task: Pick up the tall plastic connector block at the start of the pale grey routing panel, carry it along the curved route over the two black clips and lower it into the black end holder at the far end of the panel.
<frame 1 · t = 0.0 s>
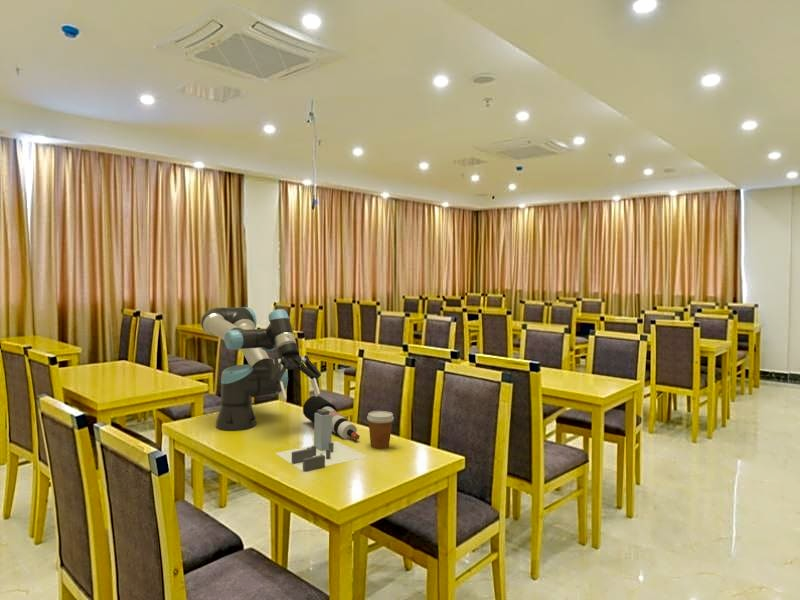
hand: (301, 397, 199), 15 cm above the table, tool tilted 35°, fingers open, 13 cm apart
disposable coffee cup: (379, 447, 192), on the table
cable: (333, 432, 210), on the table
connector: (322, 447, 188), resting on routing panel
routing panel: (320, 456, 181), on the table
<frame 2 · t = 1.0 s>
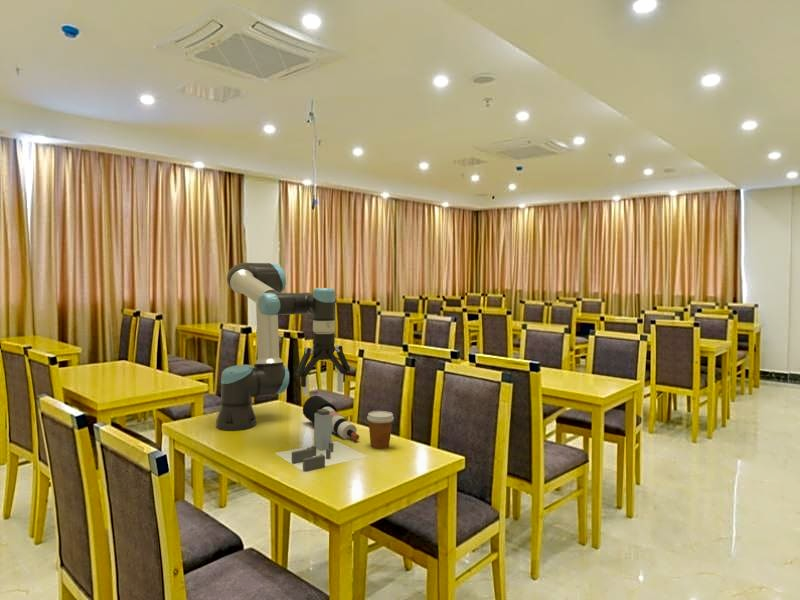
hand: (323, 394, 188), 19 cm above the table, tool pointing down, fingers open, 13 cm apart
nothing on the table moved.
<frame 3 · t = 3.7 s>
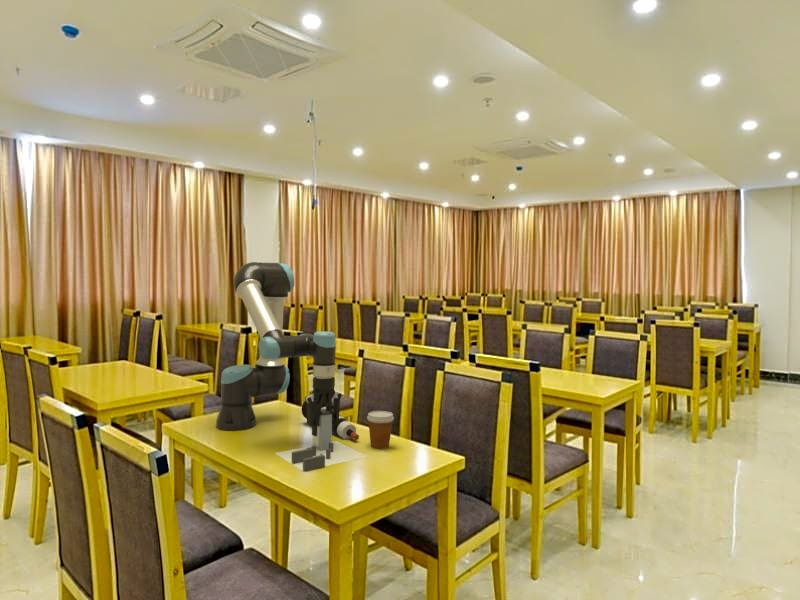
hand: (322, 443, 188), 2 cm above the table, tool pointing down, fingers closed on connector, 4 cm apart
connector: (322, 447, 188), point 1 cm above the table, touching gripper, routing panel
everything else where it was.
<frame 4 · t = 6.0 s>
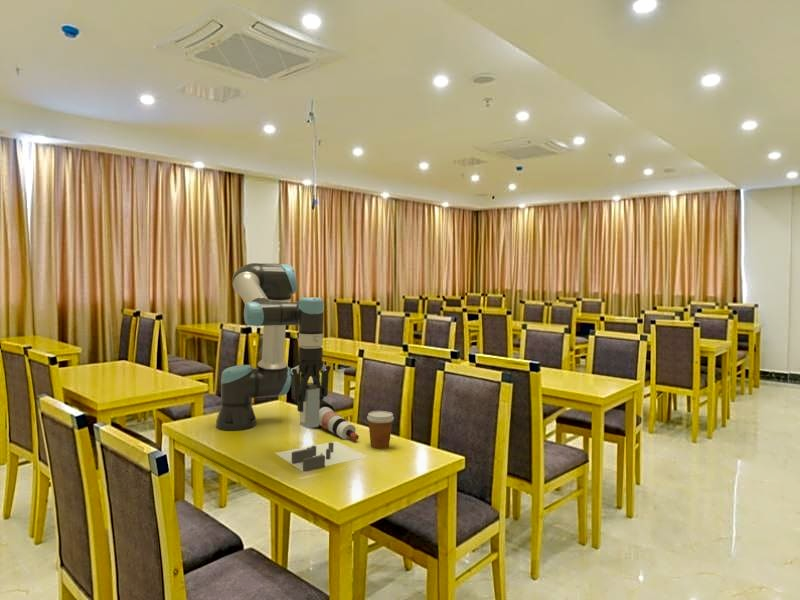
hand: (309, 420, 171), 15 cm above the table, tool pointing down, fingers closed on connector, 4 cm apart
connector: (309, 425, 171), point 13 cm above the table, touching gripper
everything else where it was.
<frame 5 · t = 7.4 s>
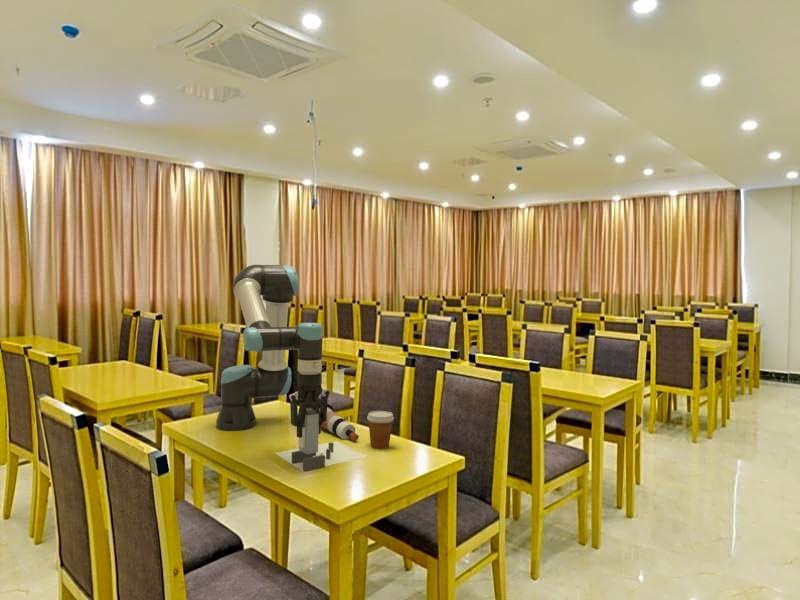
hand: (308, 445, 171), 7 cm above the table, tool pointing down, fingers closed on connector, 4 cm apart
connector: (308, 450, 171), point 5 cm above the table, touching gripper
everything else where it was.
when the fingers open (3 cm above the table, at t = 8.7 s): connector drops 1 cm, resting on routing panel.
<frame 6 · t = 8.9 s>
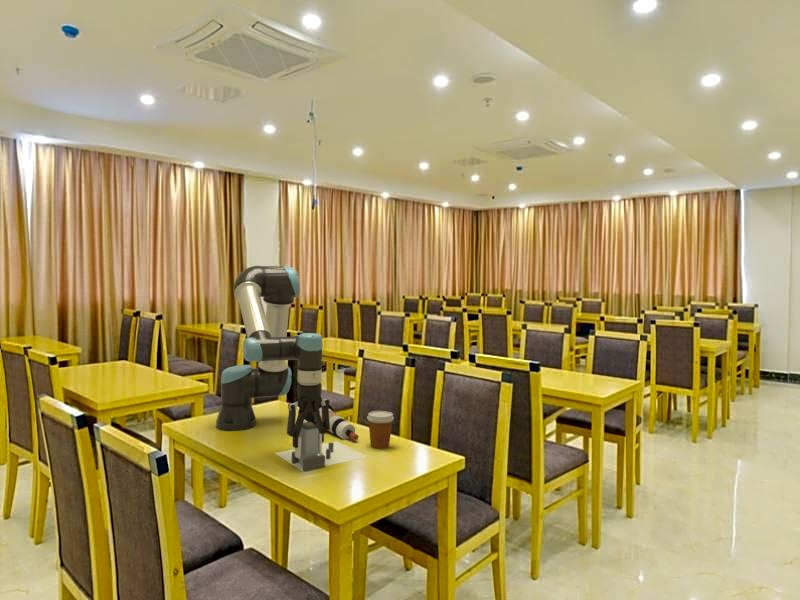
hand: (308, 454, 171), 4 cm above the table, tool pointing down, fingers open, 7 cm apart
connector: (308, 464, 172), point 1 cm above the table, touching routing panel
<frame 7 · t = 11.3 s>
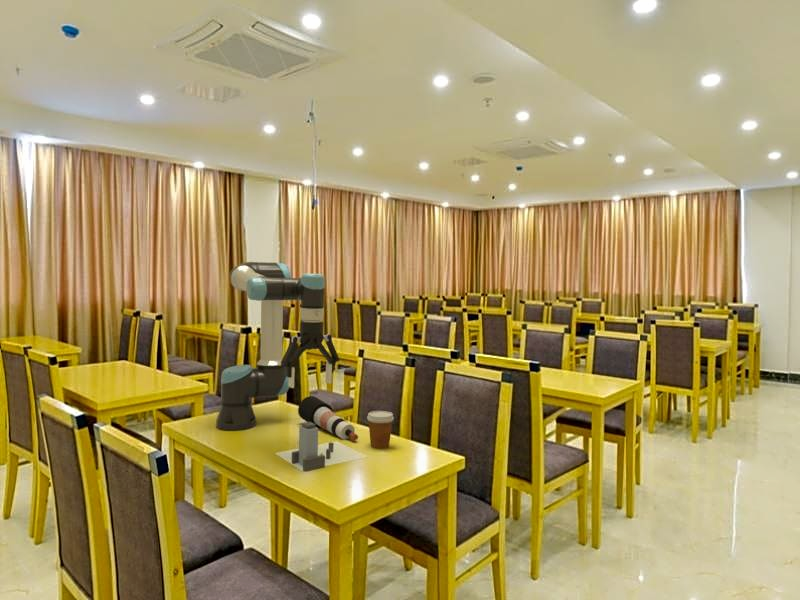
hand: (310, 385, 179), 24 cm above the table, tool pointing down, fingers open, 13 cm apart
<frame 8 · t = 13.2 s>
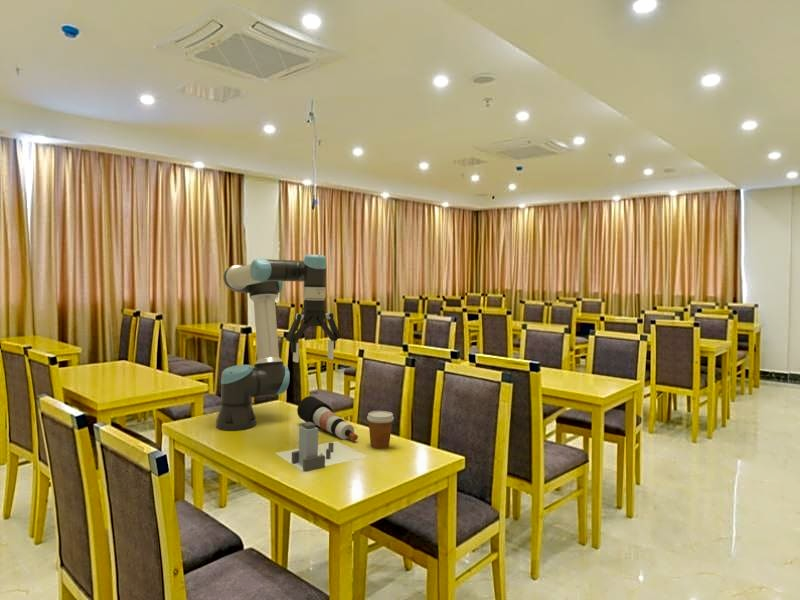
hand: (313, 360, 189), 31 cm above the table, tool pointing down, fingers open, 13 cm apart
at the end: connector 0.0 cm from the target spot on the routing panel, point 0.5 cm above the routing panel's base; connector tilted 0°; the gripper is holding nothing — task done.
